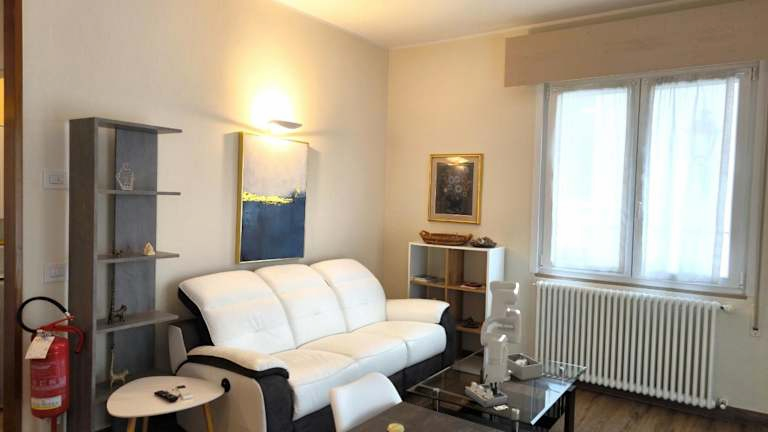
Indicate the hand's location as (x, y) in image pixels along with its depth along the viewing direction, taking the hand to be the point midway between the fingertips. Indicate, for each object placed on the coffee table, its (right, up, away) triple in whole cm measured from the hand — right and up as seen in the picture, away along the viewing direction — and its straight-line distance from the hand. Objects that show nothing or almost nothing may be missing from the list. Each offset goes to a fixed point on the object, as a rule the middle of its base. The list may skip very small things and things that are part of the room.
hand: (494, 393), depth 288 cm
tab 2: (-6, -3, +4) cm, 8 cm away
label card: (+2, -5, -7) cm, 9 cm away
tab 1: (-9, -2, +9) cm, 13 cm away
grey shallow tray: (-3, -4, +6) cm, 8 cm away
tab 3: (-3, -3, -1) cm, 4 cm away
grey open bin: (+26, -1, +45) cm, 52 cm away
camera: (+26, -1, +45) cm, 52 cm away
